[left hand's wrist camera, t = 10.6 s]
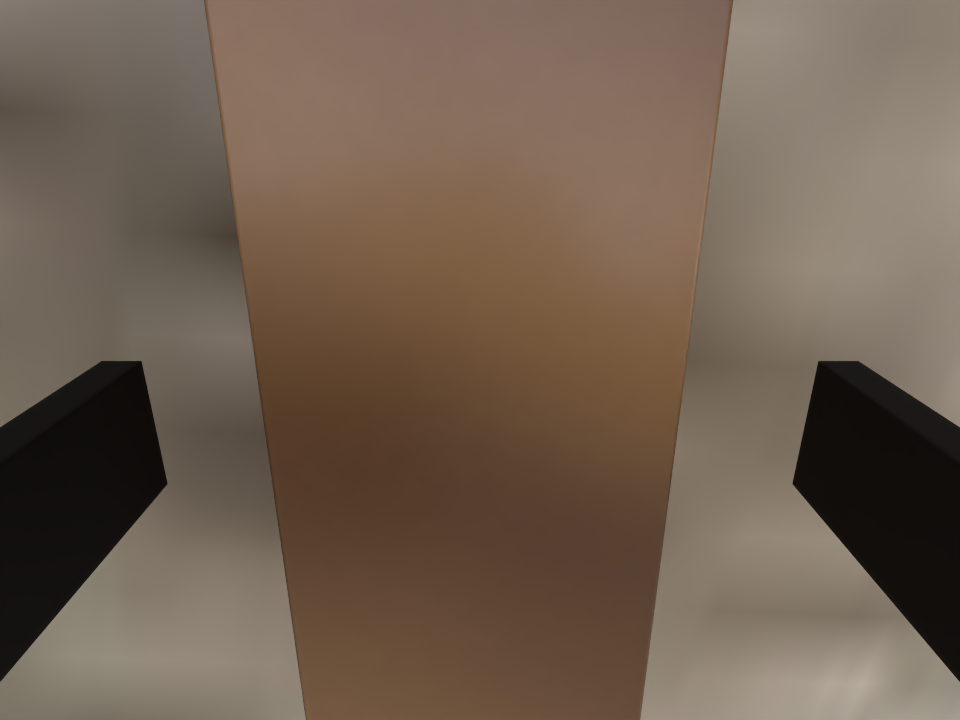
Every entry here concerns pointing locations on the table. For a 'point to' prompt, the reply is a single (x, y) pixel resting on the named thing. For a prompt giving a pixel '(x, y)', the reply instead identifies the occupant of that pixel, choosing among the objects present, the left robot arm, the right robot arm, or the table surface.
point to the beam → (470, 332)
